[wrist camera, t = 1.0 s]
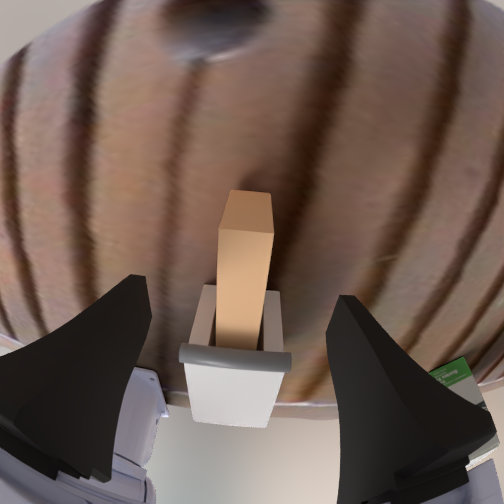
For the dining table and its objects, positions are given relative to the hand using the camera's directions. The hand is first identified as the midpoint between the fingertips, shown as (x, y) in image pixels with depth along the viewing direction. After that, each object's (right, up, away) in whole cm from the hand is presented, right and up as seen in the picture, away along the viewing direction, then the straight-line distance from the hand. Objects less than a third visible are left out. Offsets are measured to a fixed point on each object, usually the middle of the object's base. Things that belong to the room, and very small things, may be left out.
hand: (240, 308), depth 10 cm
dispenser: (-1, -3, +9) cm, 10 cm away
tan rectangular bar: (0, 0, +7) cm, 7 cm away
